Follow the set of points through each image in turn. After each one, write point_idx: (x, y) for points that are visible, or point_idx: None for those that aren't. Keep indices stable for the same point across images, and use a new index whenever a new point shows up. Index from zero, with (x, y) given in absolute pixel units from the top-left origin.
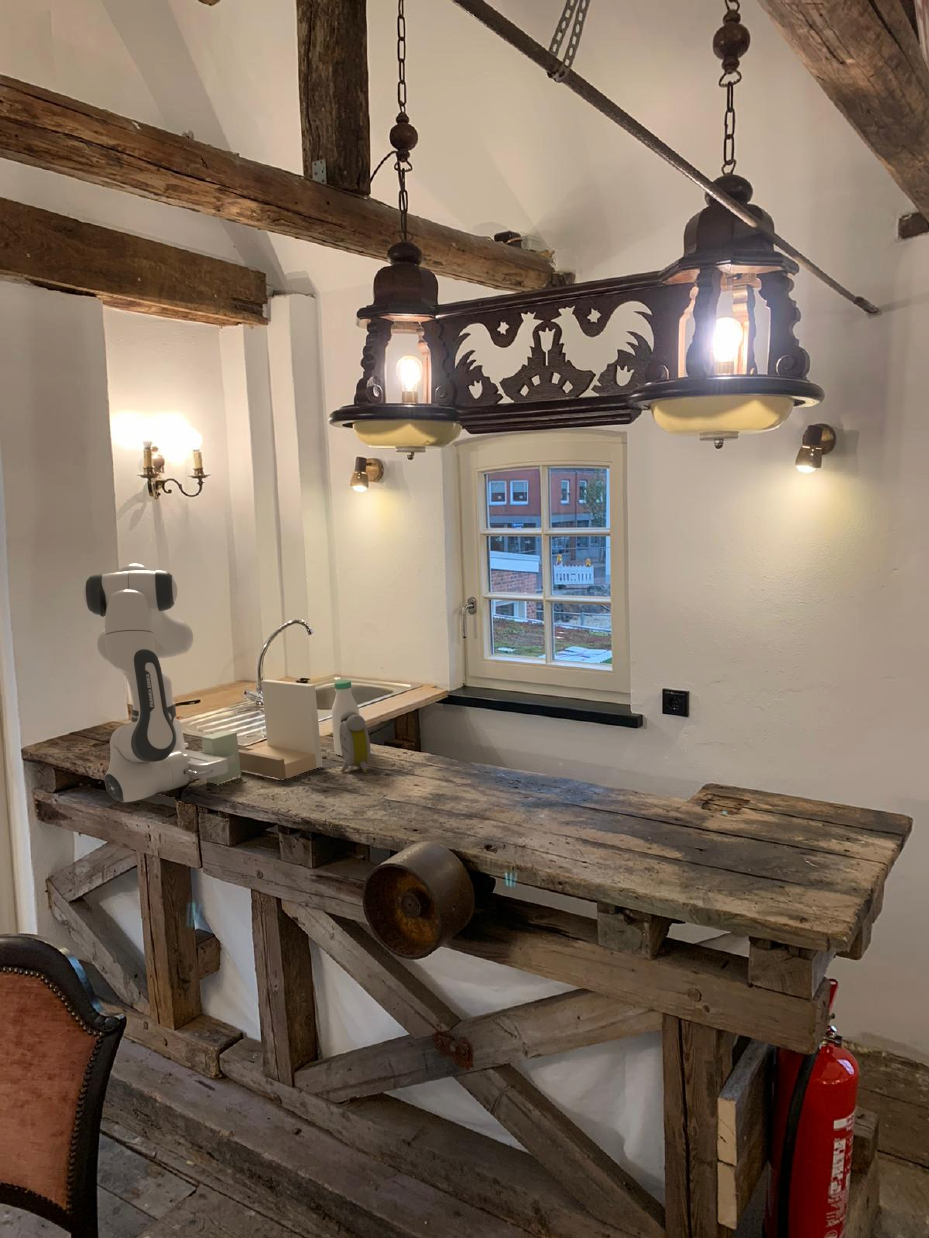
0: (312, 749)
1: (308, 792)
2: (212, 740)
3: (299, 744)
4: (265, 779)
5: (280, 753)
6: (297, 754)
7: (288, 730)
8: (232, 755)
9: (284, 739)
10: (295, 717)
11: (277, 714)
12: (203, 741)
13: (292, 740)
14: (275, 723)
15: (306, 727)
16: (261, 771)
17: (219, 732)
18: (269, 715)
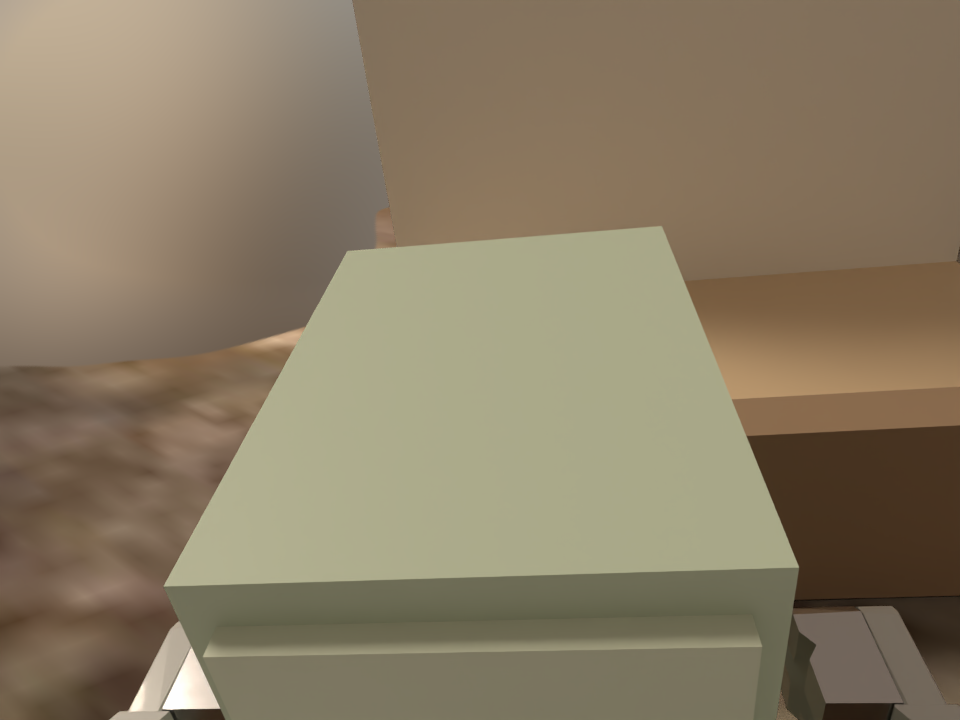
0: (934, 233)
1: None
2: (750, 609)
3: (784, 226)
4: (936, 625)
5: (705, 331)
6: (854, 299)
7: (666, 142)
8: (904, 631)
9: (607, 223)
10: (784, 3)
11: (538, 27)
12: (308, 696)
13: (704, 212)
14: (506, 116)
15: (918, 66)
16: (824, 559)
17: (360, 310)
18: (429, 60)
